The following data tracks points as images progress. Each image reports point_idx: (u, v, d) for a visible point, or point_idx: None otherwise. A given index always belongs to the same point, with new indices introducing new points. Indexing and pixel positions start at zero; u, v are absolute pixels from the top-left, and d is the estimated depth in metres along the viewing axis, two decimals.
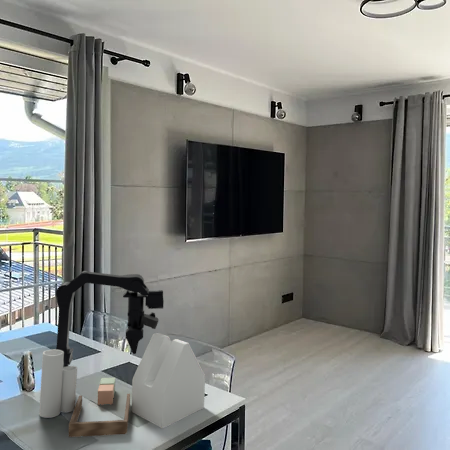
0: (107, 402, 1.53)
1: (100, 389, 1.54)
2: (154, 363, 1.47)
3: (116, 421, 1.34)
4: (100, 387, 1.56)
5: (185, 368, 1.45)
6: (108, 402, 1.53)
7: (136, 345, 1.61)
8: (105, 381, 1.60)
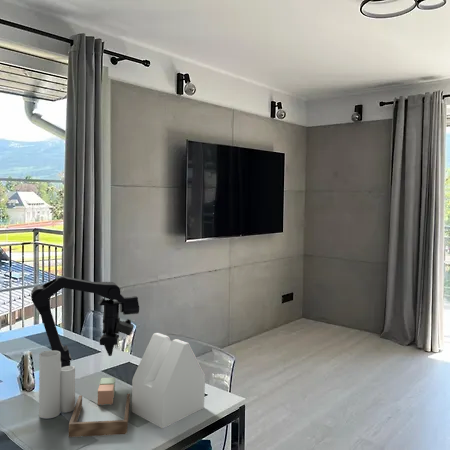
0: (107, 402, 1.53)
1: (100, 389, 1.54)
2: (154, 362, 1.47)
3: (116, 421, 1.34)
4: (100, 387, 1.56)
5: (185, 368, 1.45)
6: (108, 402, 1.53)
7: (112, 348, 1.69)
8: (105, 381, 1.60)
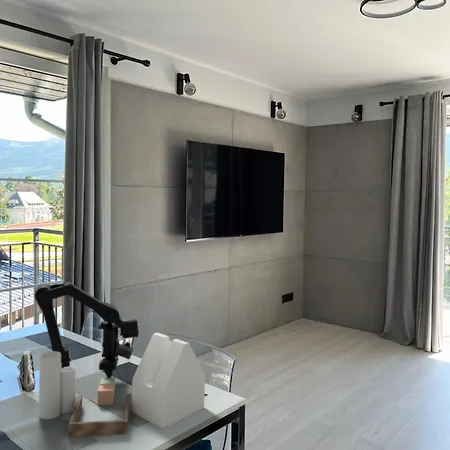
0: (107, 402, 1.53)
1: (100, 389, 1.54)
2: (154, 362, 1.47)
3: (116, 421, 1.34)
4: (100, 387, 1.56)
5: (185, 368, 1.45)
6: (108, 402, 1.53)
7: (111, 371, 1.68)
8: (105, 381, 1.60)
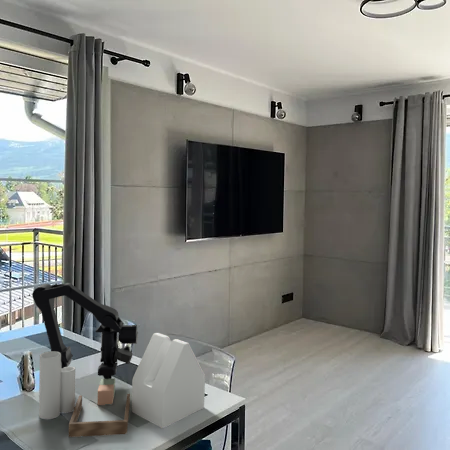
0: (107, 402, 1.53)
1: (100, 389, 1.54)
2: (154, 363, 1.47)
3: (116, 421, 1.34)
4: (100, 387, 1.55)
5: (185, 368, 1.45)
6: (108, 402, 1.53)
7: (110, 376, 1.63)
8: (105, 382, 1.59)
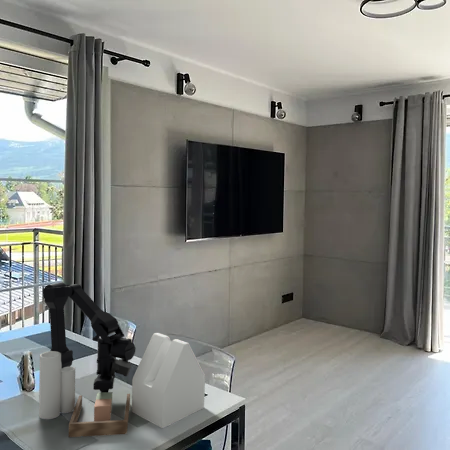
0: (104, 418, 1.42)
1: (97, 404, 1.42)
2: (154, 363, 1.47)
3: (116, 421, 1.34)
4: (96, 401, 1.44)
5: (185, 368, 1.45)
6: (105, 418, 1.42)
7: (107, 390, 1.52)
8: (101, 397, 1.48)
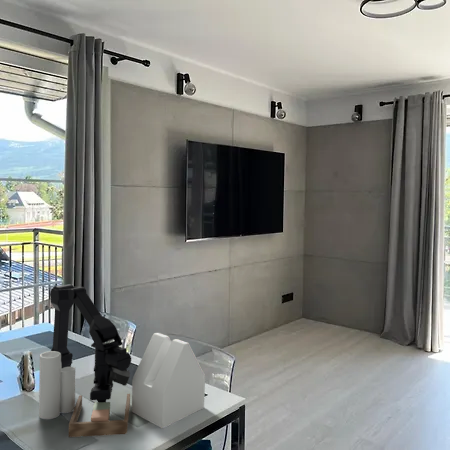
0: None
1: (94, 415, 1.35)
2: (154, 362, 1.47)
3: (116, 421, 1.34)
4: (93, 412, 1.37)
5: (185, 368, 1.45)
6: None
7: (104, 400, 1.45)
8: (98, 407, 1.41)
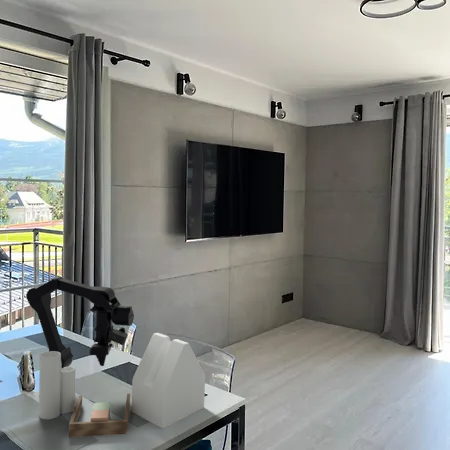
0: None
1: (93, 416, 1.35)
2: (154, 362, 1.47)
3: (116, 421, 1.34)
4: (93, 413, 1.37)
5: (185, 368, 1.45)
6: None
7: (104, 357, 1.59)
8: (98, 407, 1.41)
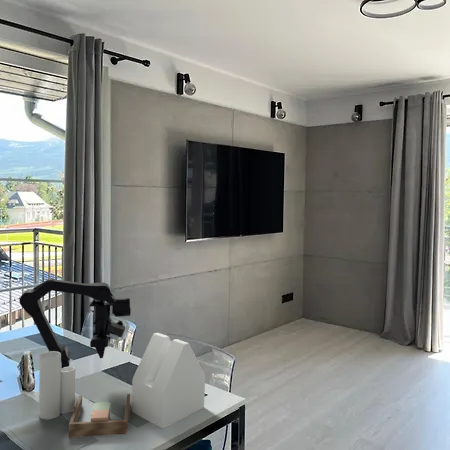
0: None
1: (93, 416, 1.35)
2: (154, 362, 1.47)
3: (116, 421, 1.34)
4: (93, 413, 1.37)
5: (185, 368, 1.45)
6: None
7: (103, 350, 1.65)
8: (98, 407, 1.41)
